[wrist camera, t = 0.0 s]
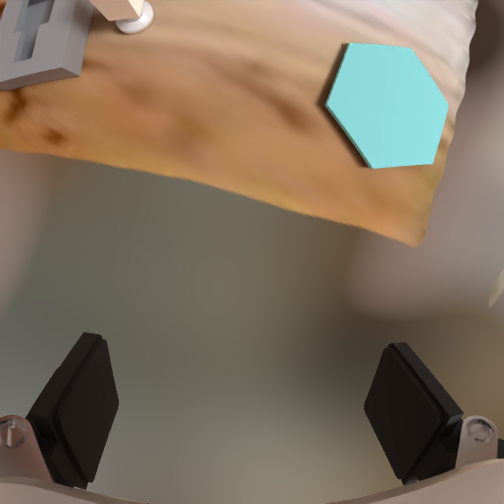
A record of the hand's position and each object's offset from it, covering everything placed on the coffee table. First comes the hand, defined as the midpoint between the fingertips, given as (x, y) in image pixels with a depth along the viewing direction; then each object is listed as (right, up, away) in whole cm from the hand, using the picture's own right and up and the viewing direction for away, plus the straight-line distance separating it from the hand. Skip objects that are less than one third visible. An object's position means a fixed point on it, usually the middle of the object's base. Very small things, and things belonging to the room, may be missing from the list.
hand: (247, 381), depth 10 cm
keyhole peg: (-15, +35, +21) cm, 43 cm away
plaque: (+19, +24, +27) cm, 41 cm away
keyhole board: (-29, +35, +20) cm, 50 cm away
